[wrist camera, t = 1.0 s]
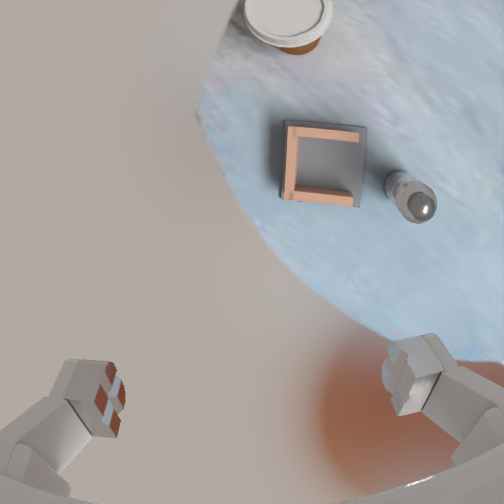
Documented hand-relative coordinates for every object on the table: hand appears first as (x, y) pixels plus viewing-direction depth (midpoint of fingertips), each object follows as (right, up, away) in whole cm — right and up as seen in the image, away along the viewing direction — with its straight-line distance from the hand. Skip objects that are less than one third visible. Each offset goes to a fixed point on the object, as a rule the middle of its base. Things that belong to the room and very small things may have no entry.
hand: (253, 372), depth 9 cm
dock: (+10, +15, +34) cm, 38 cm away
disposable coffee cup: (+6, +33, +28) cm, 43 cm away
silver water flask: (+20, +12, +32) cm, 40 cm away
